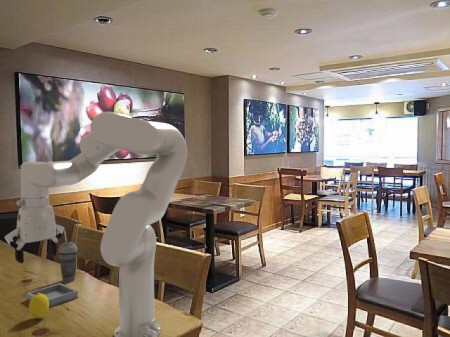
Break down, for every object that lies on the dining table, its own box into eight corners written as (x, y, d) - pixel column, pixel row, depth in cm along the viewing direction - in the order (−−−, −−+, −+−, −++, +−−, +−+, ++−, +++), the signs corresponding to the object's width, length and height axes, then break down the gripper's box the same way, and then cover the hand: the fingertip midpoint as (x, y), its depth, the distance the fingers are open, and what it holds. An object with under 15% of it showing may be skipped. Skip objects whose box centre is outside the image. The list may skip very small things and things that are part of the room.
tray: (77, 297, 132) (77, 290, 132) (43, 309, 123) (43, 301, 123) (60, 289, 140) (60, 283, 139) (26, 300, 130) (26, 293, 130)
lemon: (44, 313, 120) (43, 288, 120) (52, 317, 117) (51, 292, 116) (26, 319, 116) (25, 293, 115) (34, 324, 112) (33, 298, 112)
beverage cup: (71, 284, 145) (70, 233, 144) (54, 283, 147) (53, 232, 145) (82, 278, 152) (81, 228, 151) (66, 276, 154) (64, 228, 153)
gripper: (10, 207, 105) (11, 268, 106) (69, 200, 118) (70, 254, 119) (-1, 204, 110) (0, 262, 111) (57, 198, 123) (58, 250, 124)
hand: (36, 258), depth 115 cm, fingers open, 9 cm apart
